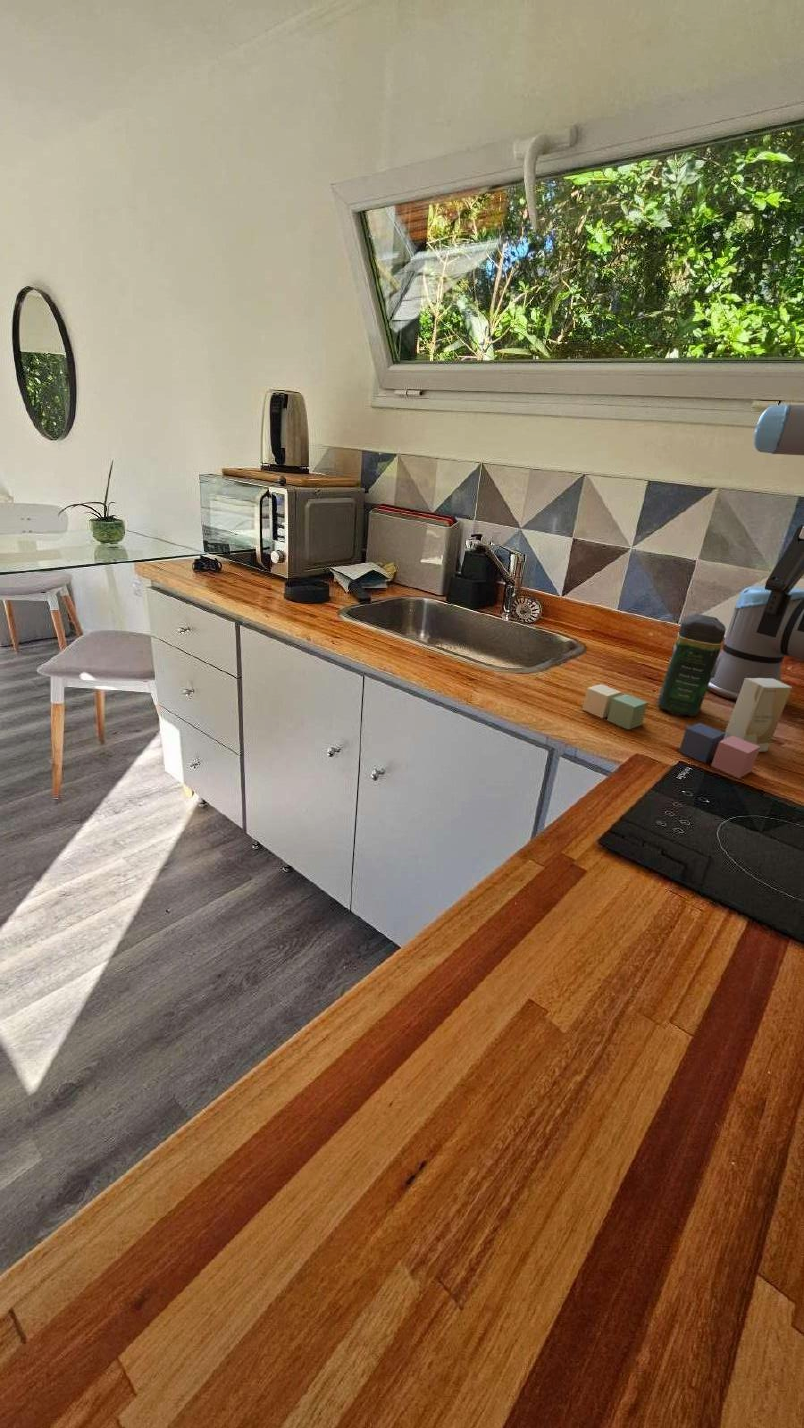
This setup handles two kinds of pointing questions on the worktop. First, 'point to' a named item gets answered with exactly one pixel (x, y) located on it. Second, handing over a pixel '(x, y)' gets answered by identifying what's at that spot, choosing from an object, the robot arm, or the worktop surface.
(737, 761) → the block rose
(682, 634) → the coffee jar
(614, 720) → the block sage
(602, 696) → the block cream
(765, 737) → the cosmetic box
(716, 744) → the block slate
